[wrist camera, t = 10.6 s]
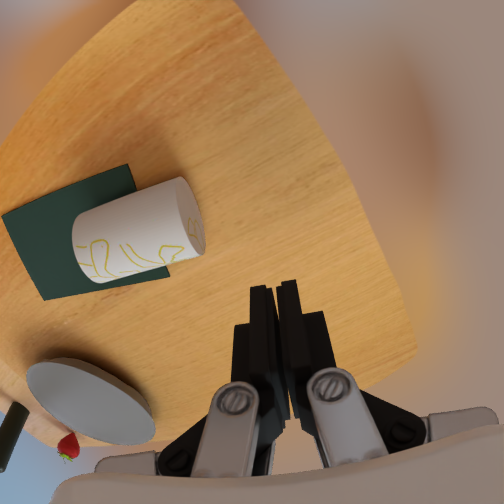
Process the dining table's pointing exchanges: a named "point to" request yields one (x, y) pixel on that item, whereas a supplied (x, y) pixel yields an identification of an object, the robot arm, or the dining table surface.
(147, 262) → the cup
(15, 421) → the wine bottle
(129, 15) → the dining table surface
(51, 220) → the mat
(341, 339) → the dining table surface
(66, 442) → the strawberry
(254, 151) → the dining table surface
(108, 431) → the flat disc
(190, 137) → the dining table surface
